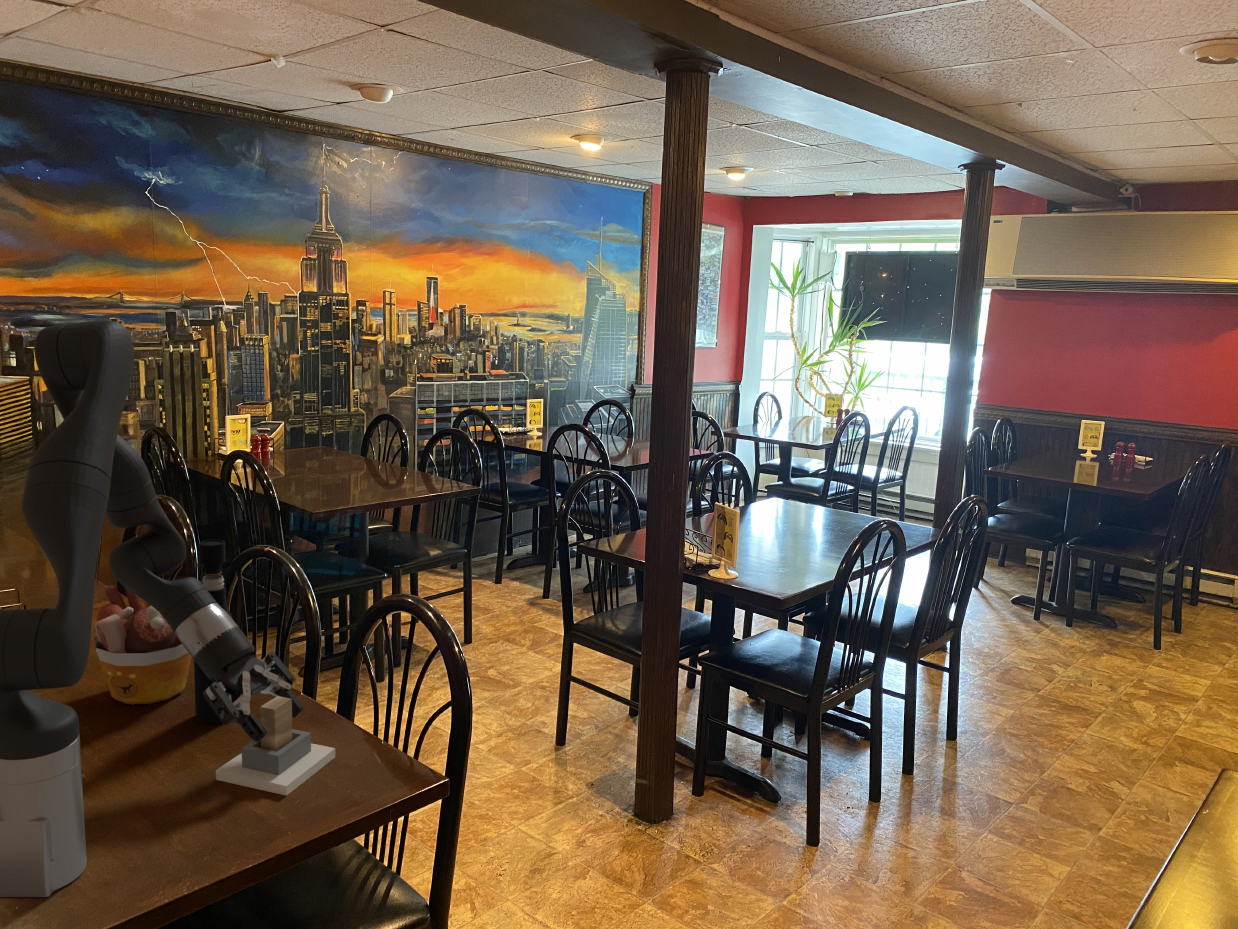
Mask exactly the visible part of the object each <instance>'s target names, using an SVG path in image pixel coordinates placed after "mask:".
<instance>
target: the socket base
mask: <svg viewBox="0 0 1238 929" xmlns="http://www.w3.org/2000/svg"><path fill="white" fill-rule="evenodd" d="M335 758H336V748H335V747H331V746H326V745H322V744H315V743H312V732H309V731H304V730H299V729H295V728H292V741H291V742H290V743H289V744H287V745H286V746H284V747H283V748H282V749H280V750H279V751H277V752H276V751H271V750H267V749H262V748H261V740H260V741H258V742H256V741H254V740H253V739H252V741H250V742H249V743H247V744H246V745H245V746H243V747H241V753H239V754H238V755H236V756H235V757H234V758H232V759H230V760H229V761H228V762H226V763H225V764H223V765H221V766H220V767H219V768H216V770H215V780H216V781H219V782H224V783H228V784H234V785H238V786H242V787H247V788H251V789H255V790H260V791H263V792H264V791H265V792H269V793H273V794H277V795H282V796H286V797H287V796H289V795H290V794H291V793H293V791H295V790H296V789H297V788H299V787H300V786H301V785H302V784H304V783H305V782H306V781H307V780H309V779H310V778H312V776H314V775H315V774H316V773H318V772H319V771H320V770H321V769H323V768H324V767H325V766H326V765H328V764H329V763H330V762H331V761H333V760H334V759H335Z"/></svg>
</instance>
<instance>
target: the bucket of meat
mask: <svg viewBox="0 0 1238 929" xmlns="http://www.w3.org/2000/svg"><path fill="white" fill-rule="evenodd" d="M123 587H124V590H125V593H126V597H127V598H126V599H127V600H128V604H129V606H126V603H125V601H124V599H123V597H122V595H121V593H120V591H119V589H118V587H116V586H114V585H109V586H107V587H106V588H105V592H104V594H105V596H106V598H107V600H108V602H109V603H106V604H103V605H102V606H101V607H100V609H99V610H98V612H97V616H96V622H95V623H94V626H95V633H96V636H95V637H94V638H93V639H94V646H95V650H96V654H97V656H98V658H99V662H100V666H101V668H102V672H103V675H104V678H105V681H106V684H107V686H108V690H109V693H110V696H111V698H113V699H114V700H116V701H117V702H120V703H123V704H127V705H129V706H130V704H131V706H132V705H133V706H135V705H134V704H137V705H138V704H148V705H152V704H157V703H161V702H165V701H168V700H169V699H172V698H173V697H175V696H177V695H179V694H180V693H181V692H182V691H184V689H185V688H186V686H187V685H186V684H187V681H188V676H189V671H190V666H191V661H192V656H191V655H190V654H189V653H188V651H187V650H186V649H185V648H184V646H183V645H182V643H181V641H180V640H179V638H178V636H177V634H176V633H175V632H174V630H173V629H172V628H171V627H170V625H169V624H168V623H167V621H166V620H165V619H164V618H163V616H162V615H161V614H160V613H159V612H158V611H157V610H156V609H155V608H154V607H152V606H151V605H150V604H148V603H147V607H143V605H142V602H141V598H140V597H139V596H138V595H136V594H135V593H133V592H132V591H130V590H129V589H127V588H126V587H125V586H123ZM160 701H161V702H160ZM156 702H157V703H156Z"/></svg>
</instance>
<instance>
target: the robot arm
mask: <svg viewBox="0 0 1238 929" xmlns="http://www.w3.org/2000/svg"><path fill="white" fill-rule="evenodd" d="M33 345H34V347H33V349H34V350H33V353H34V358H35V363H36V366H37V370H38V371H39V374H40V377H41V379H42V381H43V383H44V385H45V388H46V389H47V390H48V393H49V395H50V397H51V399H52V400H53V402H54V404H55V406H56V408H57V410H58V412H59V413H60V416H61V417H62V419H63V420H62V421H61V423H60V424H58V426H57V427H56V428H55V429H54V430H53V431H52V432H51V433H50V434H49V435H48V436H47V437H46V439H45V440H44V441H43V442H42V443H41V444H40V446H38V447H39V448H38V449H37V450H36V451H35V453H34V454H33V456H32V457H31V460H30V463H29V466H28V470H27V475H26V478H25V484H24V488H23V494H22V498H21V512H22V516H23V519H24V521H25V524H26V526H27V527H28V529H29V531H30V533H31V535H32V536H33V538H34V539H35V541H36V543H37V544H38V545H39V548H40V549H41V550H42V551H43V553H44V555H45V556H46V558H47V559H48V562H49V563H50V565H51V568H52V569H53V572H54V575H55V577H56V579H57V585H58V598H57V604H56V606H55V607H51V608H50V607H49V608H48V607H47V608H43V607H42V608H21V609H18V608H17V609H1V610H0V898H3V897H4V898H7V897H8V898H47V897H50V896H51V894H53V893H54V892H55V891H57V890H59V889H61V888H63V887H65V886H67V885H69V884H70V883H72V882H73V881H75V880H76V879H77V878H78V877H80V876H81V874H82V873H83V872H84V871H85V869H86V868H87V862H88V861H87V860H88V859H87V846H86V844H87V843H86V828H85V809H84V794H83V792H84V791H83V777H82V775H83V774H82V773H83V772H82V759H81V757H82V754H81V753H82V752H81V739H80V720H79V715H78V713H77V712H76V710H75V709H74V708H73V707H71V706H70V705H67V704H64V703H62V702H59V701H54V700H50V699H48V698H45V697H42V696H40V695H38V694H36V693H34V692H32V691H31V690H48V689H61V688H69V687H72V686H75V685H77V684H78V682H80V680H81V678H82V677H83V675H84V673H85V670H86V668H87V665H88V659H89V655H90V647H91V636H92V623H93V611H94V601H95V600H94V598H95V586H96V585H95V584H96V572H97V563H98V558H99V557H98V555H99V553H100V552H99V551H100V544H101V538H102V533H103V528H104V522H105V517H107V520H108V522H109V523H110V524H111V525H112V526H113V527H115V528H118V529H119V528H120V529H124V528H125V529H126V528H127V529H128V528H133V527H138V526H143V525H144V527H145V530H146V531H145V532H143V533H141V534H139V535H136V536H134V537H132V538H130V539H128V540H126V541H124V542H122V543H119V544H117V545H116V546H114V547H113V548H112V549H111V550H110V552H109V553H108V554H109V555H108V559H107V560H108V567H109V570H110V572H111V574H112V576H113V577H114V578H115V579H116V581H117V582H119V584H121V586H123V587H124V586H125V587H126V588H127V589H129V590H130V591H132V592H133V593H135V594H136V595H138V596H139V597H140V599H142V600H143V601H145V602H146V603H147V605H148V604H150V605H151V606H152V607H154V608H155V609H156V610H157V611H158V612H159V613H160V614H161V615H162V616H163V618H164V619H165V620H166V621H167V623H168V624H169V625H170V627H171V628H172V629H173V630H174V632H175V633H176V634H177V636H178V638H179V640H180V641H181V643H182V645H183V646H184V648H185V649H186V650H187V651H188V653H189V654H190V655H191V656H192V657H191V659H193V661H194V660H195V662H196V663H197V664H198V665H199V667H200V668H201V669H202V671H203V672H204V673H205V674H206V676H207V677H208V678H209V679H210V680H216V682H214V683H212V684H211V685H210V686H209V687H208V688H207V689H206V690H205V691H204V692H203V696H204V698H205V699H206V700H207V702H208V703H209V705H210V706H211V708H212V709H213V710H214V712H215V713H216V715H217V716H218V717H219V719H220V720H221V722H222V723H221V724H222V725H224V726H228V725H230V724H234V723H235V724H237V725H240V727H241V728H242V730H243V731H244V732H245V733H246V735H247V736H248V737H249V738H250V739H251V740H252V741H253V740H254V741H256V742H258V741H260V740H261V739H262V738H263V737H265V736H266V735H267V730H266V729H265V728H264V727H263V725H262V724H261V721H260V720H259V719H258V717H257V715H255V714H254V713H253V712H252V713H251V704H250V701H251V699H252V697H253V696H257V695H258V694H263V695H268V694H269V695H272V696H274V697H277V696H280V697H285V698H290V699H292V719H293V718H296V717H298V716H299V715H300V714H301V713H302V712H303V711H304V707H303V704H302V702H301V701H300V700H299V698H298V697H297V696H296V695H295V693H294V692H293V691H292V685H293V684H294V683H295V682H296V681H297V678H296V677H295V675H294V674H293V673H292V672H291V671H290V669H288V667H287V665H285V664H284V663H283V661H282V660H281V659H280V658H279V657H278V655H277V654H276V653H274V652H272V651H270V652H269V653H268V654H266V655H265V656H264V657H263V658H262V659H259V658H258V657H257V656H256V655H255V646H254V644H252V642H251V641H250V640H249V638H248V637H247V636H246V634H244V632H243V631H242V630H241V628H240V627H239V625H238V624H237V623H236V621H235V620H234V619H233V617H232V618H231V617H230V616H229V614H228V613H227V612H226V611H225V610H224V609H222V608H221V607H220V606H219V604H218V603H217V602H216V601H215V600H214V598H213V597H212V596H211V594H210V593H209V592H208V591H207V590H206V588H205V587H204V586H203V582H202V581H200V580H199V579H198V578H196V577H193V576H188V577H183V578H179V579H176V580H175V579H174V580H166V579H163V578H161V577H163V576H165V575H166V574H168V573H171V572H172V571H175V570H176V569H178V568H179V567H181V566H182V565H183V564H184V563H185V561H186V558H187V544H186V542H185V540H184V538H183V537H182V535H181V534H180V533H179V531H178V530H177V529H176V527H175V526H174V525H173V523H172V522H171V520H170V519H169V517H168V515H167V514H166V512H165V510H164V509H163V508H162V506H161V504H160V502H159V499H158V496H157V492H156V490H155V487H154V484H153V480H152V479H151V475H150V472H149V469H148V467H147V464H145V461H144V460H143V458H142V457H141V455H140V454H139V453H138V452H137V451H136V449H135V448H134V447H133V446H132V445H131V444H130V443H129V442H128V441H126V440H125V439H124V437H123V436H121V435H120V434H118V432H119V427H120V423H121V419H122V416H123V411H124V408H125V405H126V401H127V398H128V394H129V390H130V387H131V382H132V379H133V373H134V369H135V359H136V358H135V347H134V341H133V338H132V336H131V333H130V332H129V330H128V329H127V327H125V326H124V325H123V324H122V323H120V322H118V321H115V320H108V319H107V320H92V321H91V320H90V321H82V322H80V321H79V322H73V323H64V324H63V323H62V324H55V325H50V326H47V327H44V328H42V329H41V330H40V331H39V332H38V333H37V335H36V337H35V340H34V344H33ZM125 587H124V588H125ZM281 675H282V676H283V677H284V678H285V679H284V678H283V677H282V676H281ZM226 693H227V694H229V697H228V696H227V694H226ZM224 707H225V709H226V710H227V712H228V714H227V713H226V711H225V710H224Z"/></svg>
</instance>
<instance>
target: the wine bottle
mask: <svg viewBox="0 0 1238 929" xmlns="http://www.w3.org/2000/svg"><path fill="white" fill-rule="evenodd" d="M198 550H199V551H198V555H199V556H198V557H199V563H200V564H201V565H204V567H203V569H204V572H203V575H204V576H203V577H202V580H201V583H202V584H203V586H204V587H205V588H206V590H207V591H208V592H209V593H210V594H211V596H212V597H213V598H214V600H215V601H216V602H217V603H218V604H219V606H220V607H221V608H222V609H224V610H225V611H226V612H227V613H228V614H229V616H230V617H231V618H232V619H233V617H232V613H231V611H230V609H229V607H228V604H227V588H226V587H225V582H224V581H225V578H224V576H223V574H222V564H224V563H225V562H226V542H225V540H221V539H206V540H202V541H199V543H198ZM221 574H222V575H221ZM193 673H194V674H193V675H194V676H193V677H194V679H193V680H194V704H195V706H194V708H195V710H194V711H195V720H196V721H197V722H198V723H201V724H205V725H216V724H217V725H218V724H223V723H222V722H221V720H220V719H219V717H218V716H217V715H216V713H215V712H214V710H213V709H212V708H211V706H210V705H209V703H208V702H207V700H206V699H205V698H204V696H203V692H204V691H205V690H206V689H207V688H208V687H209V686H210V685H211V684H212V683H214V682H216V680H210V679H209V678H208V677H207V676H206V674H205V673H204V672H203V671H202V669H201V668H200V667H199V665H198V664H197V663H196V662H195V660H194V659H193ZM226 694H227V693H226ZM227 696H228V697H229V694H227ZM224 710H225V711H226V713H227V714H228V712H227V710H226V709H225V707H224Z"/></svg>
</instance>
